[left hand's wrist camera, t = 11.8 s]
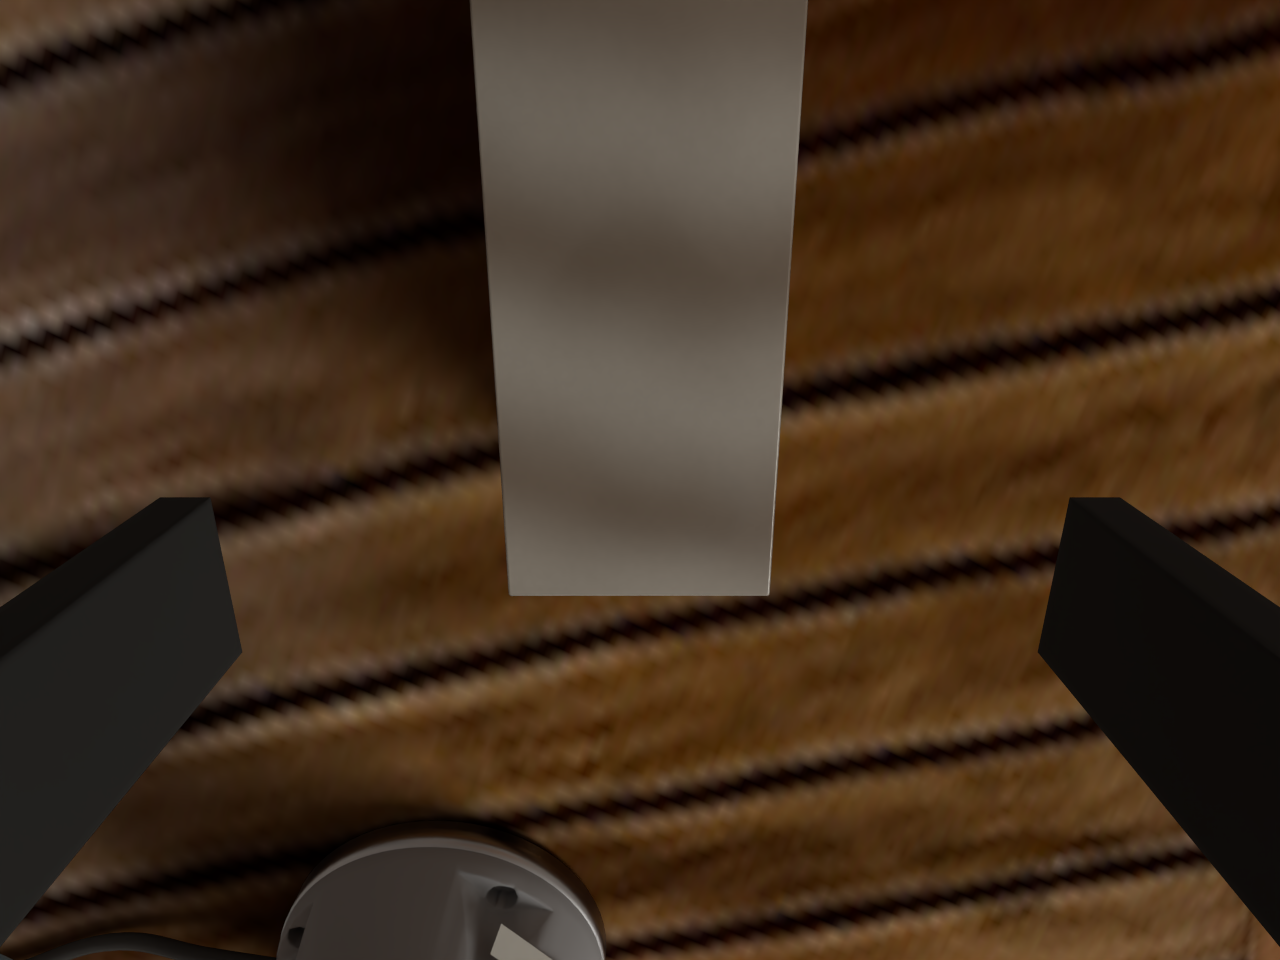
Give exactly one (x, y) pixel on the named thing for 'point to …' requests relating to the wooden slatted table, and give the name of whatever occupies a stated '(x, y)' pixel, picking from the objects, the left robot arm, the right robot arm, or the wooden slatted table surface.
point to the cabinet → (638, 285)
